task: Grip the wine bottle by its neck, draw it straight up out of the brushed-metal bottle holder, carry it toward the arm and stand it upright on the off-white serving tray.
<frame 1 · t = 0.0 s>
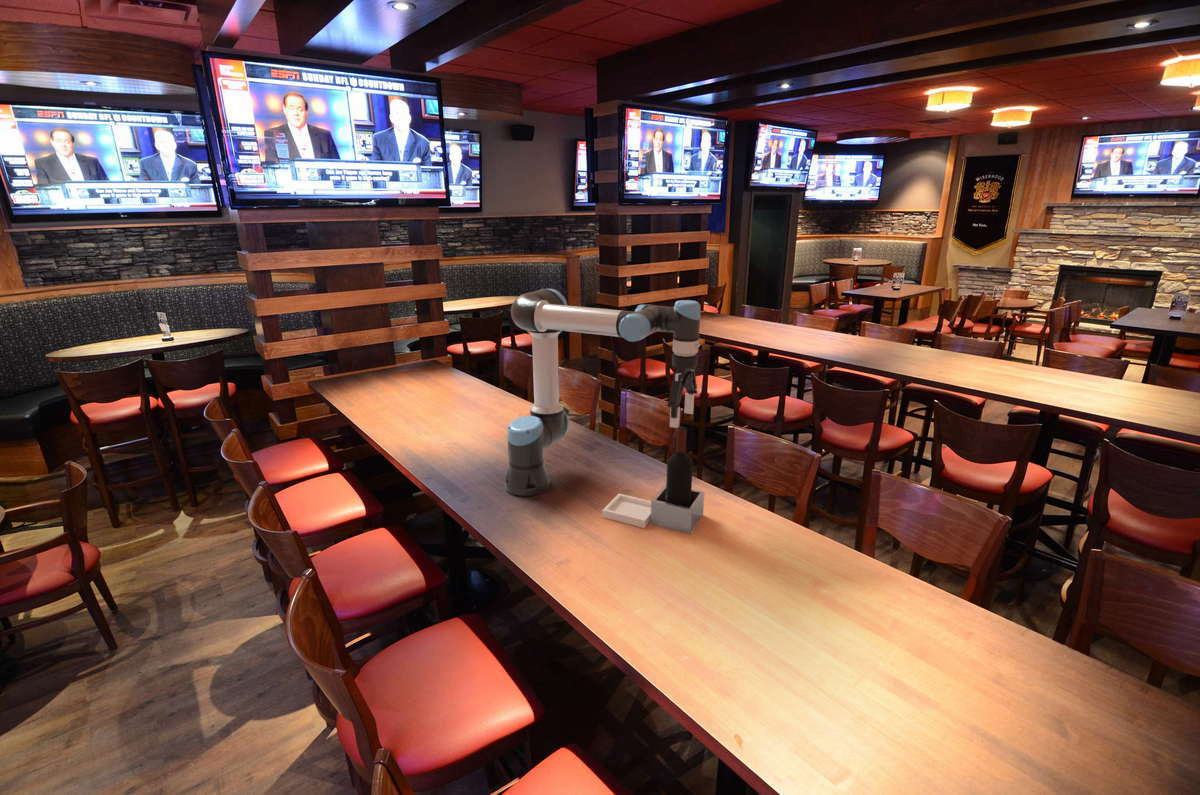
hand: (681, 420, 178), 28 cm above the table, fingers open, 13 cm apart
holder: (677, 519, 176), on the table
tray: (631, 513, 179), on the table
wine bottle: (677, 520, 176), resting in holder
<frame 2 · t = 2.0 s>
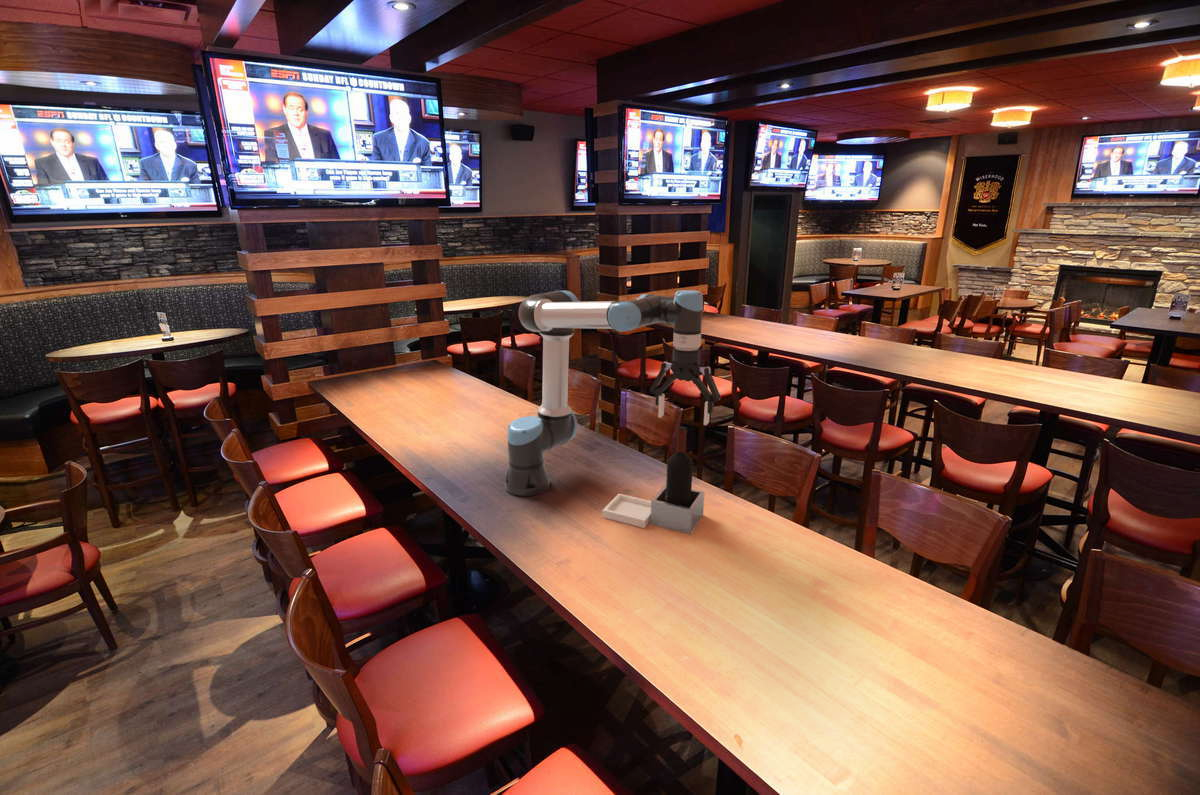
hand: (683, 420, 165), 33 cm above the table, fingers open, 13 cm apart
nothing on the table moved.
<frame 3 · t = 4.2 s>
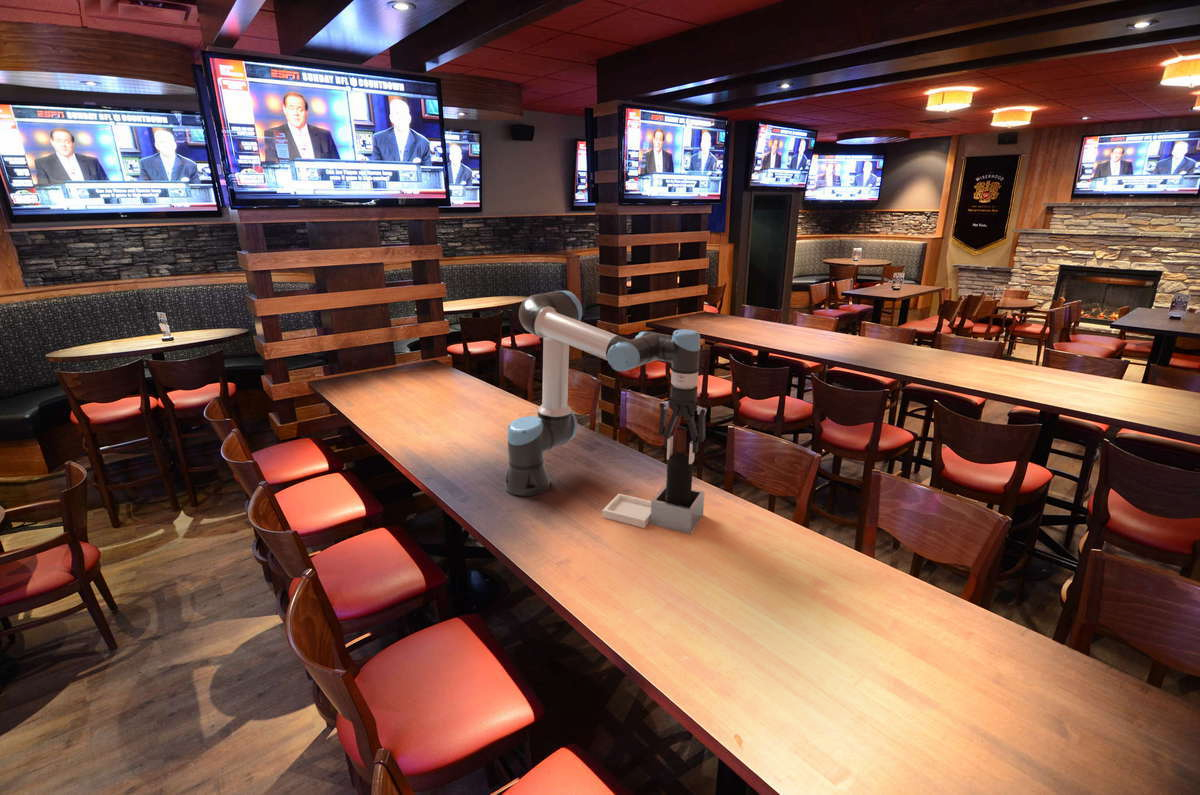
hand: (680, 459, 170), 20 cm above the table, fingers closed on wine bottle, 6 cm apart
wine bottle: (677, 520, 176), resting in holder, touching gripper
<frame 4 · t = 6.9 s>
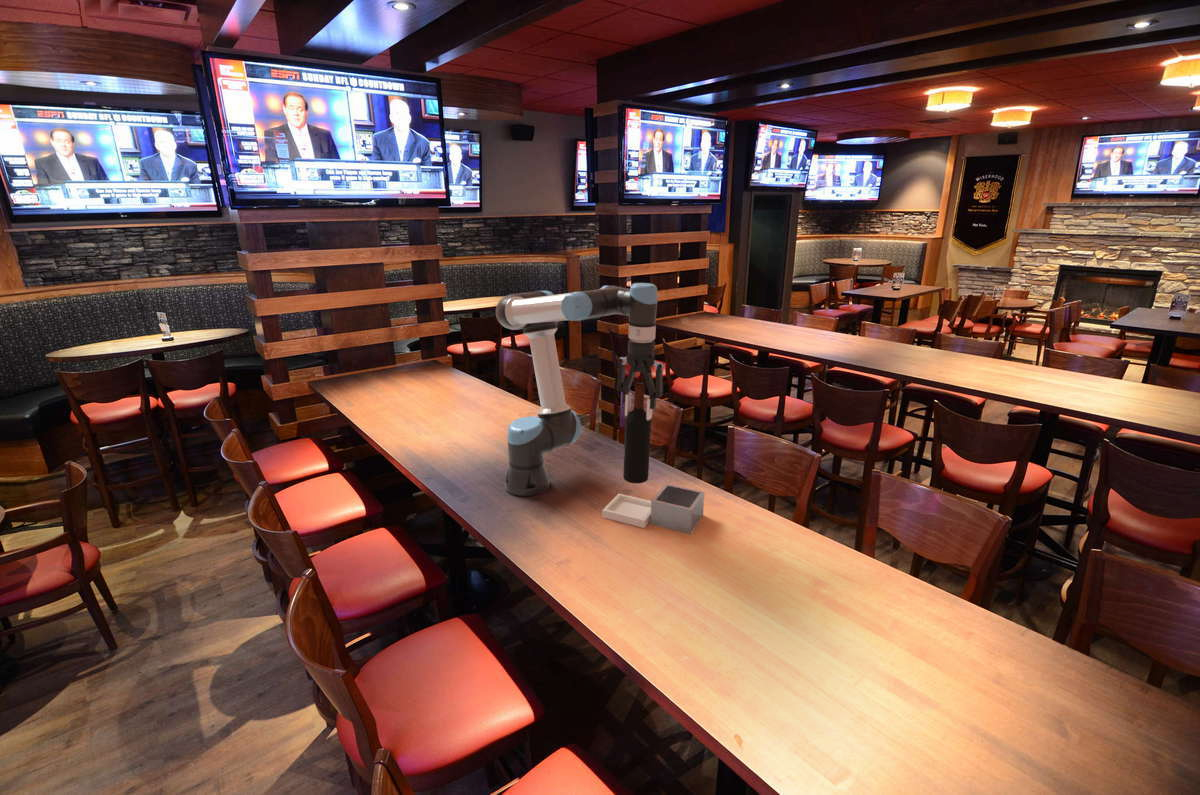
hand: (638, 416, 169), 32 cm above the table, fingers closed on wine bottle, 6 cm apart
wine bottle: (635, 478, 176), point 12 cm above the table, touching gripper
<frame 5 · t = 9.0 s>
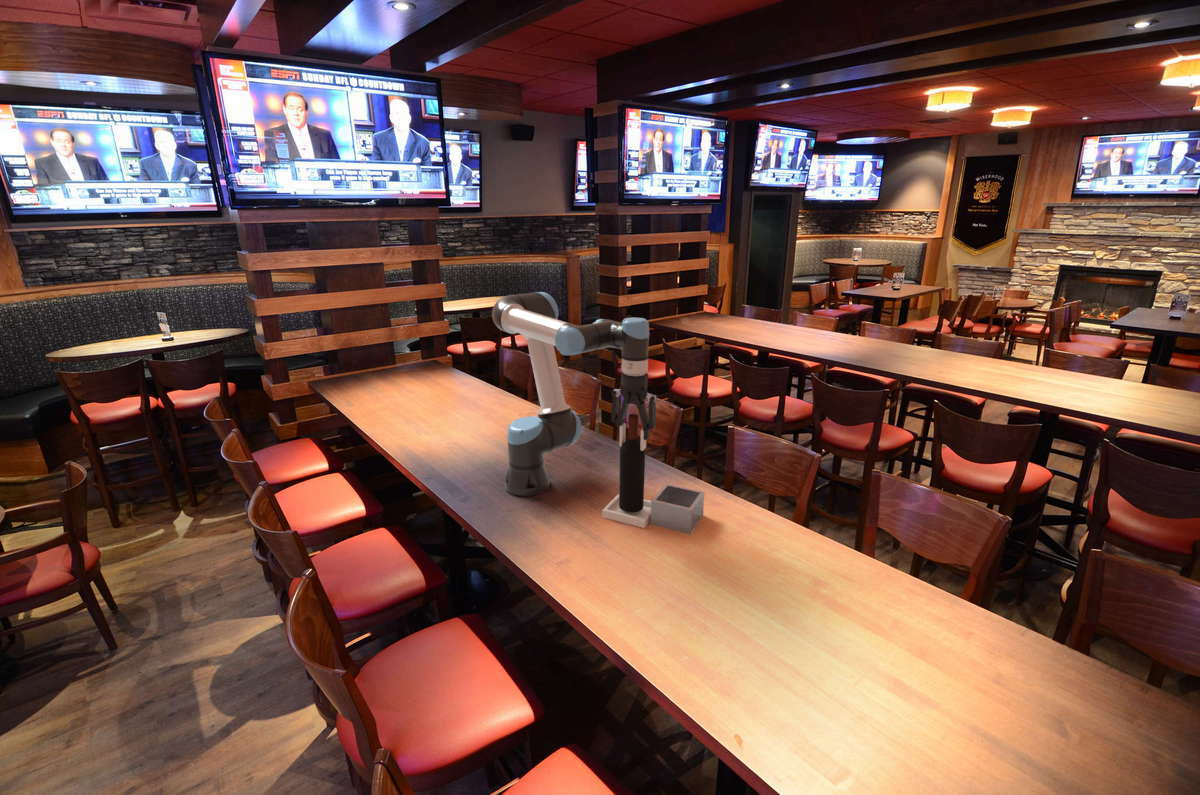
hand: (632, 446, 172), 23 cm above the table, fingers closed on wine bottle, 6 cm apart
wine bottle: (631, 506, 178), point 2 cm above the table, touching gripper
when the fingers open (22 cm above the table, at t = 10.1 s): wine bottle drops 1 cm, resting on tray.
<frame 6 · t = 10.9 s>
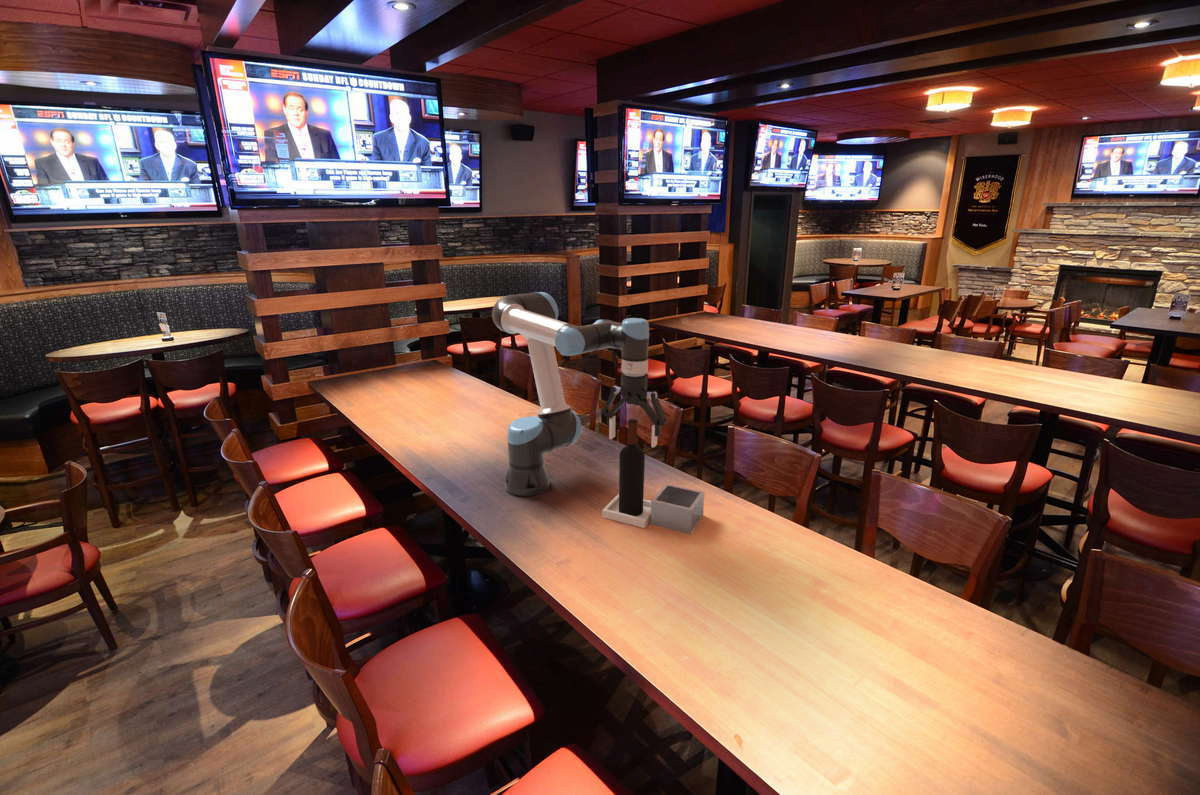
hand: (632, 441, 172), 24 cm above the table, fingers open, 13 cm apart
wine bottle: (630, 511, 179), point 1 cm above the table, touching tray
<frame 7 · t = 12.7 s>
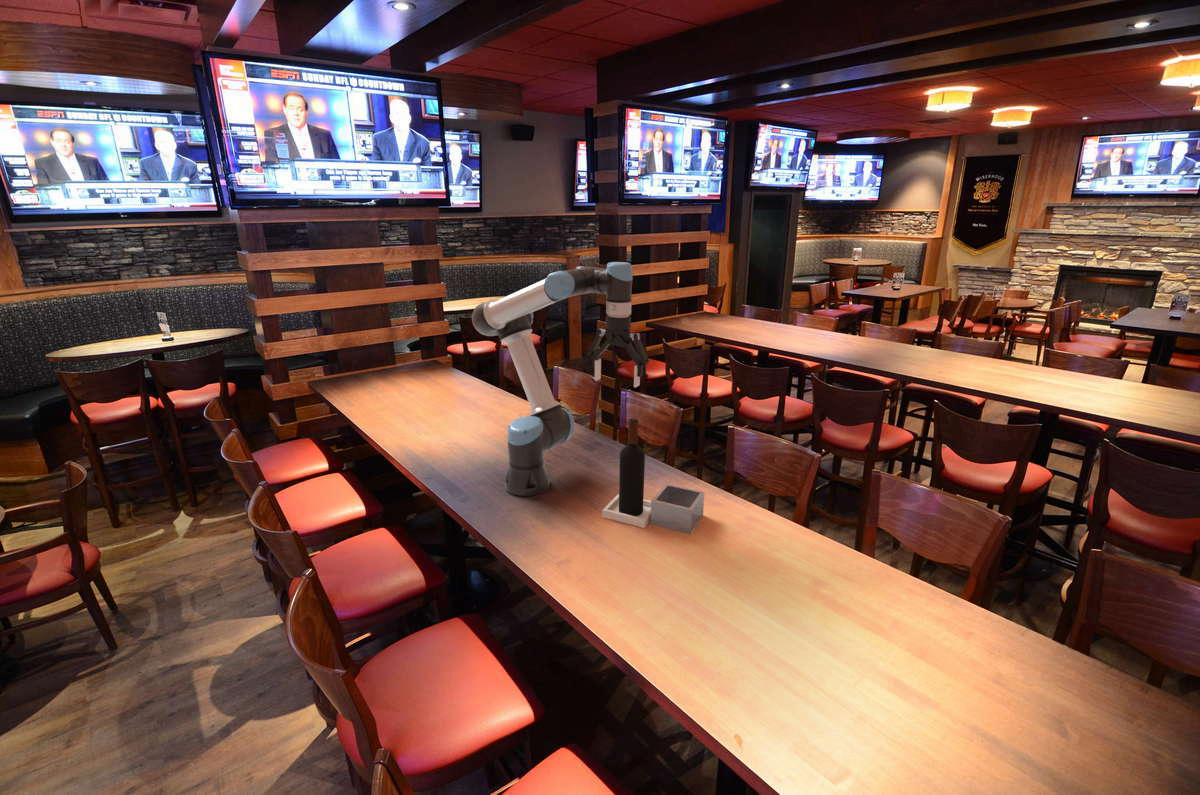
hand: (616, 382, 180), 38 cm above the table, fingers open, 13 cm apart
nothing on the table moved.
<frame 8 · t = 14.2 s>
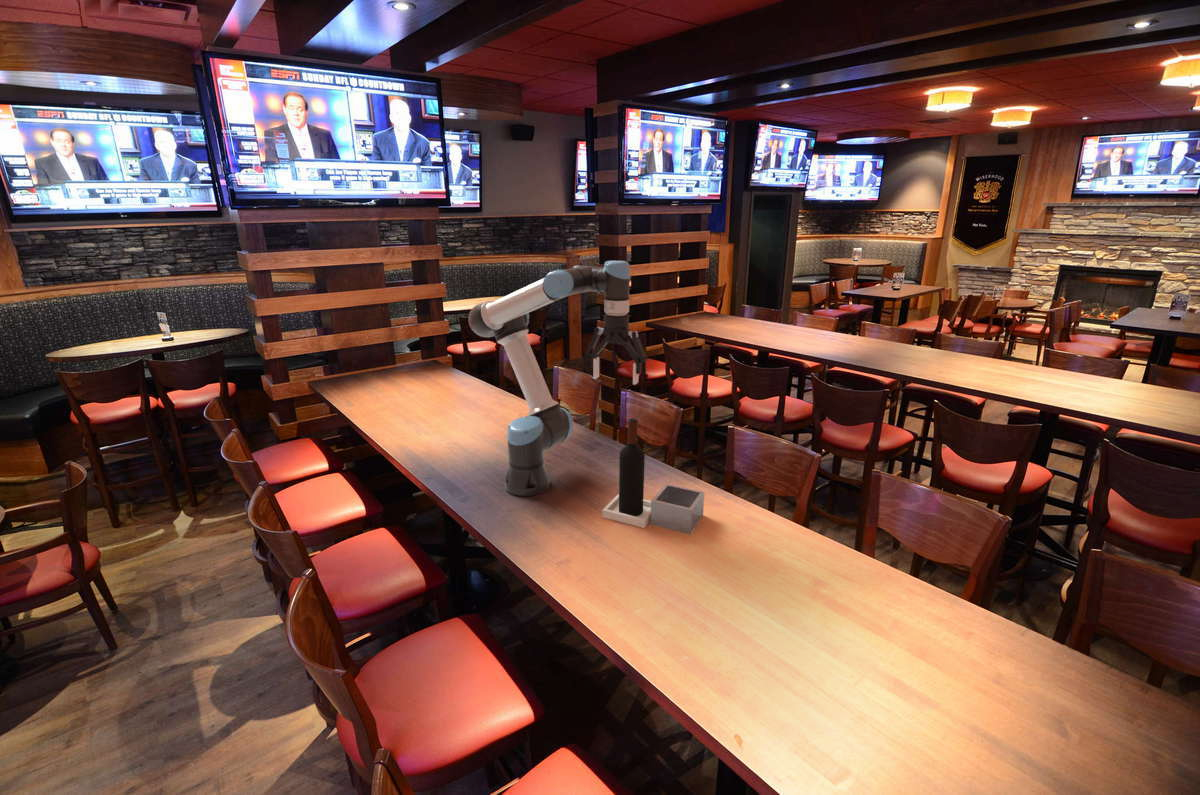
hand: (615, 380, 181), 39 cm above the table, fingers open, 13 cm apart
nothing on the table moved.
at the end: wine bottle inside the target area on the tray (0.1 cm from its centre), point 0.8 cm above the tray's base; wine bottle tilted 0°; the gripper is holding nothing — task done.
